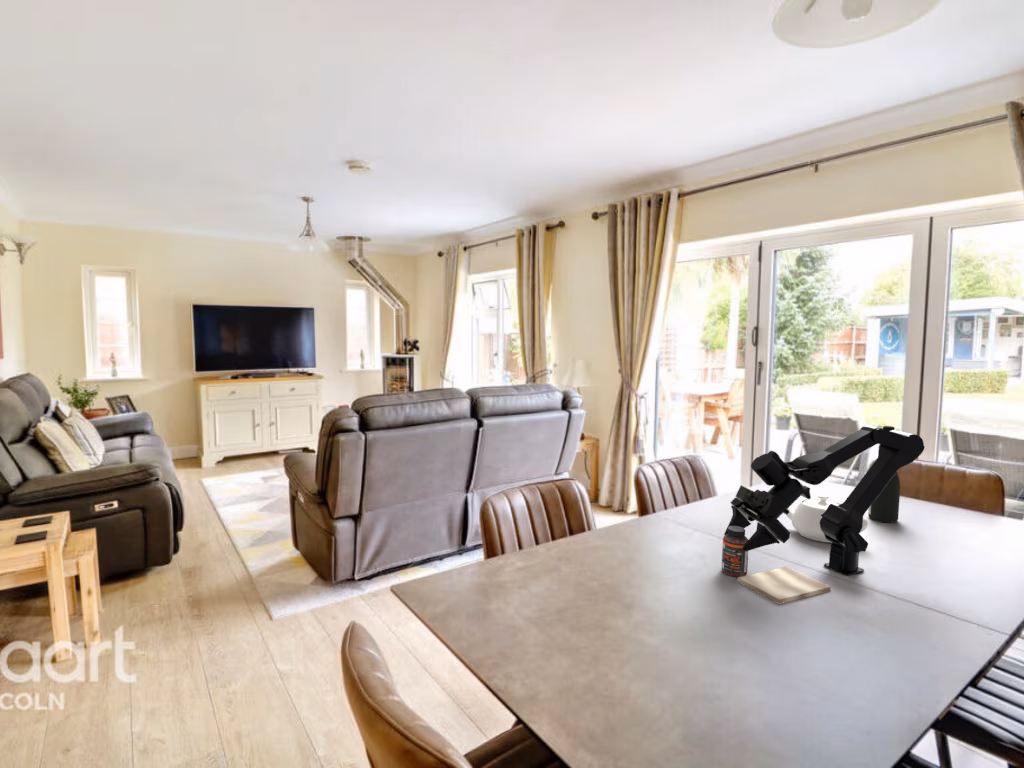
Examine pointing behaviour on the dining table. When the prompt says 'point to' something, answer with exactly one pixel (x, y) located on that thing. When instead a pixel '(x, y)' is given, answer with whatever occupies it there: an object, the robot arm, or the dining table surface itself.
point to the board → (783, 584)
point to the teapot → (813, 517)
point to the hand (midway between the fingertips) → (734, 542)
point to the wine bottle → (887, 499)
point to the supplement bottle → (734, 552)
